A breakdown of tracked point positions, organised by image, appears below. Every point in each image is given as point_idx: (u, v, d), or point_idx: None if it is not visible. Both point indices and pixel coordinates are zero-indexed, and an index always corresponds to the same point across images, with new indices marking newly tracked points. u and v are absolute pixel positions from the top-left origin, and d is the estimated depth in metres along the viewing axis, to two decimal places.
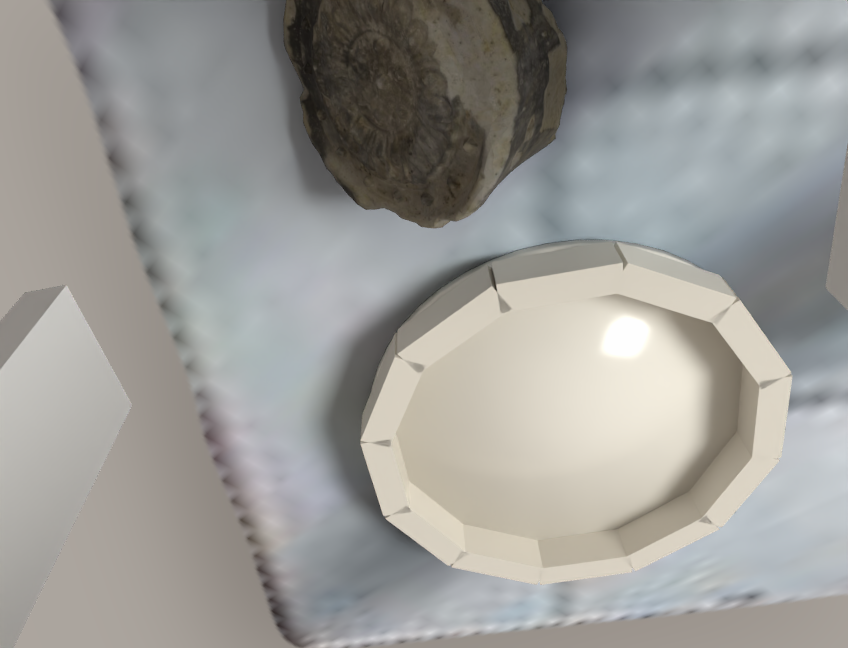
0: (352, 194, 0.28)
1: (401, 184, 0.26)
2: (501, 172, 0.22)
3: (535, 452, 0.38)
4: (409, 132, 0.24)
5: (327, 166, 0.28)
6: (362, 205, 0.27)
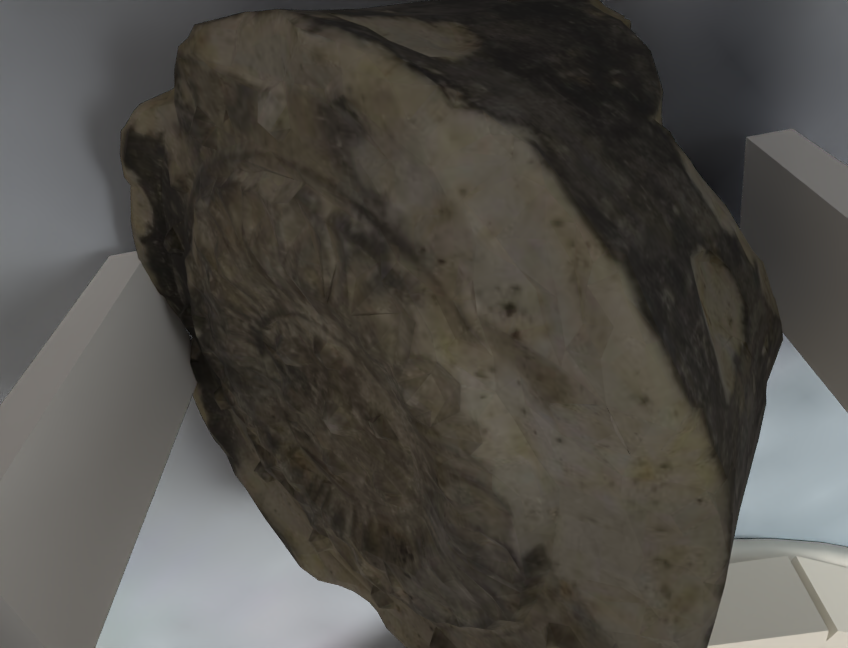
0: (290, 549, 0.14)
1: None
2: None
3: None
4: (406, 533, 0.10)
5: (242, 483, 0.14)
6: (309, 573, 0.13)
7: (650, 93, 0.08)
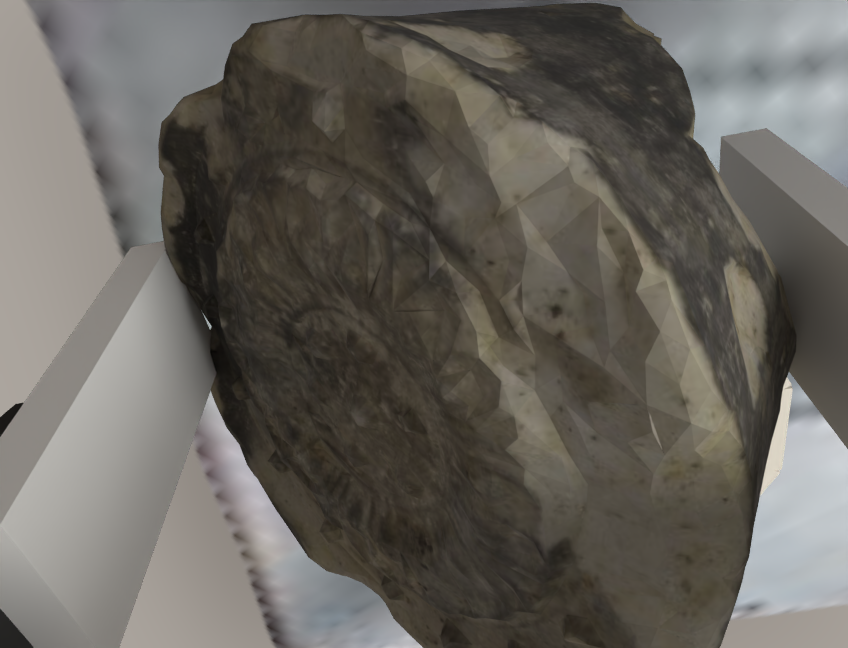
0: (299, 539, 0.14)
1: None
2: None
3: None
4: (425, 526, 0.10)
5: (254, 473, 0.14)
6: (318, 564, 0.14)
7: (685, 110, 0.09)
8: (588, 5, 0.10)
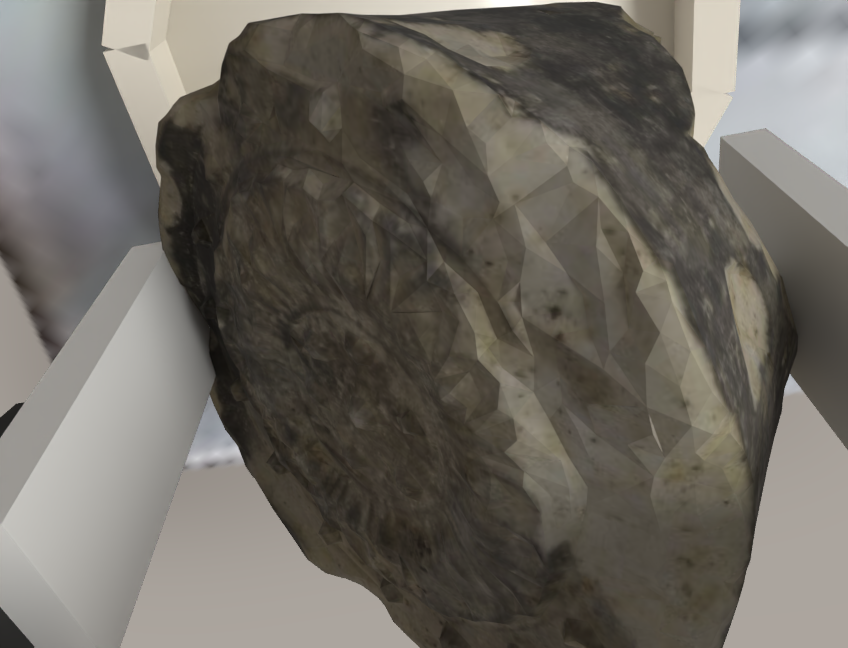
0: (298, 541, 0.14)
1: None
2: None
3: None
4: (424, 528, 0.10)
5: (252, 475, 0.14)
6: (316, 565, 0.14)
7: (684, 109, 0.08)
8: (587, 4, 0.10)
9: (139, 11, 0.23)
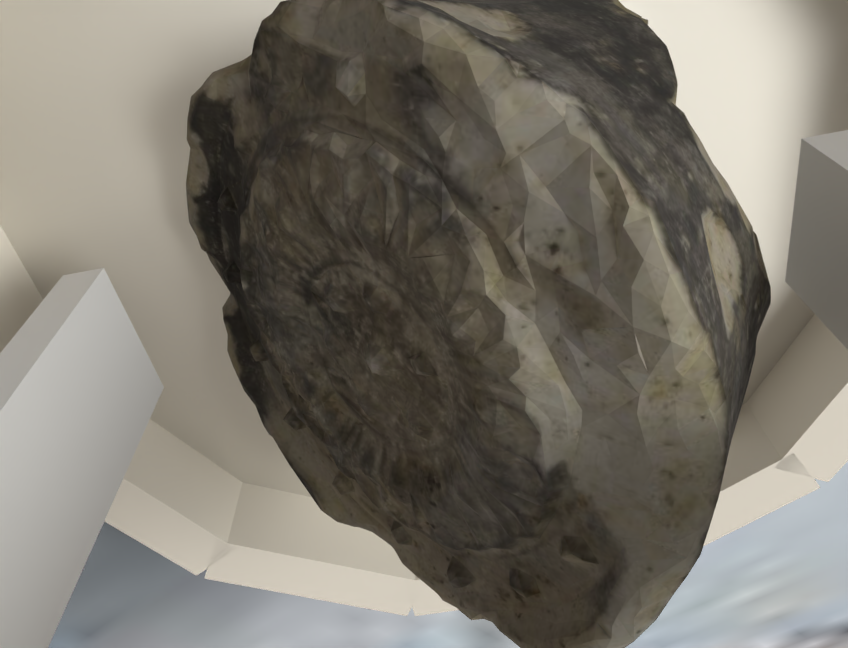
0: (312, 493, 0.15)
1: None
2: (649, 624, 0.10)
3: None
4: (434, 466, 0.11)
5: (269, 433, 0.15)
6: (330, 516, 0.15)
7: (668, 79, 0.10)
8: None
9: None
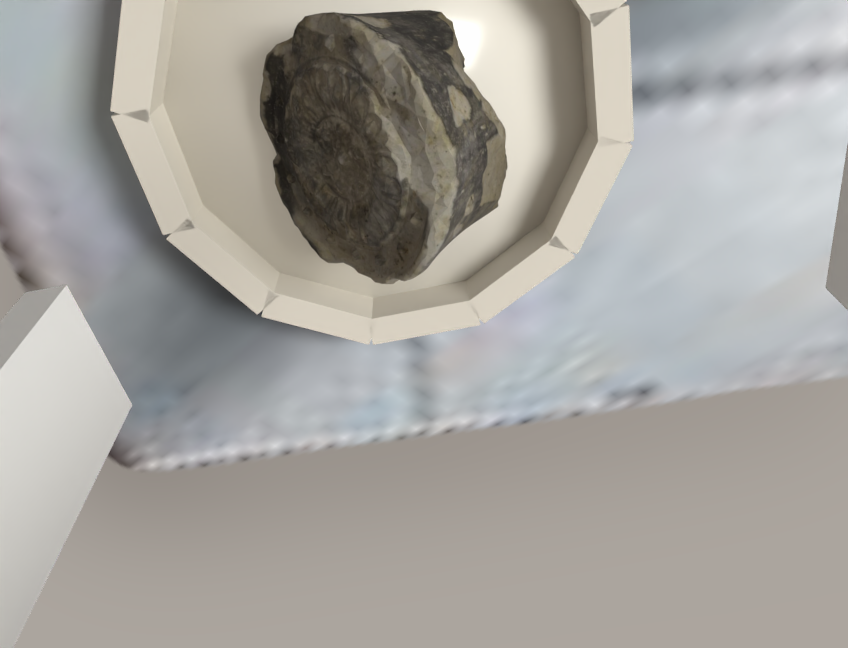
0: (316, 249, 0.31)
1: (358, 244, 0.29)
2: (442, 243, 0.26)
3: None
4: (366, 203, 0.27)
5: (295, 222, 0.31)
6: (324, 259, 0.31)
7: (447, 44, 0.26)
8: (426, 10, 0.28)
9: (141, 84, 0.28)
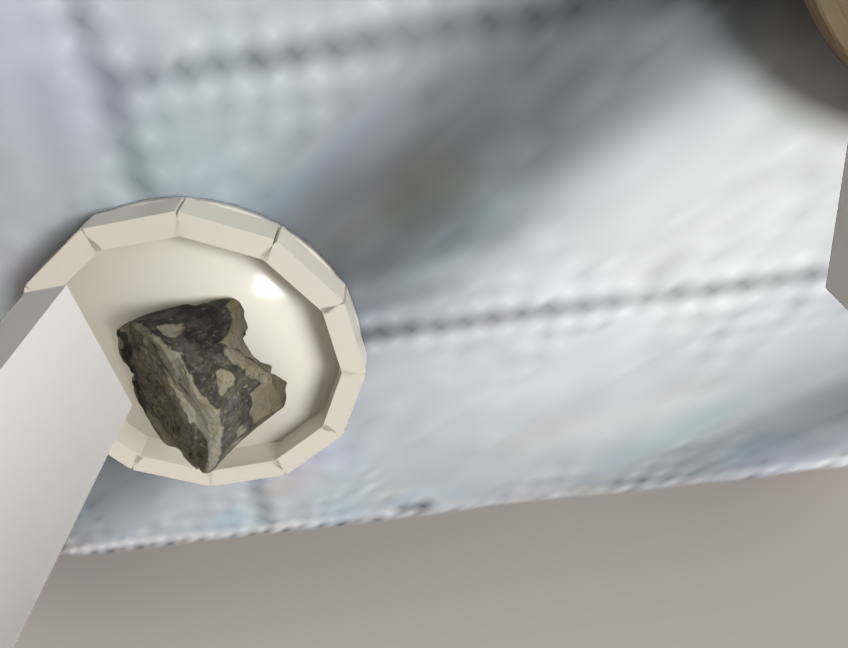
0: (160, 436, 0.47)
1: None
2: (218, 459, 0.42)
3: None
4: (178, 424, 0.43)
5: (147, 417, 0.47)
6: (165, 443, 0.47)
7: (223, 335, 0.42)
8: (219, 300, 0.43)
9: None
